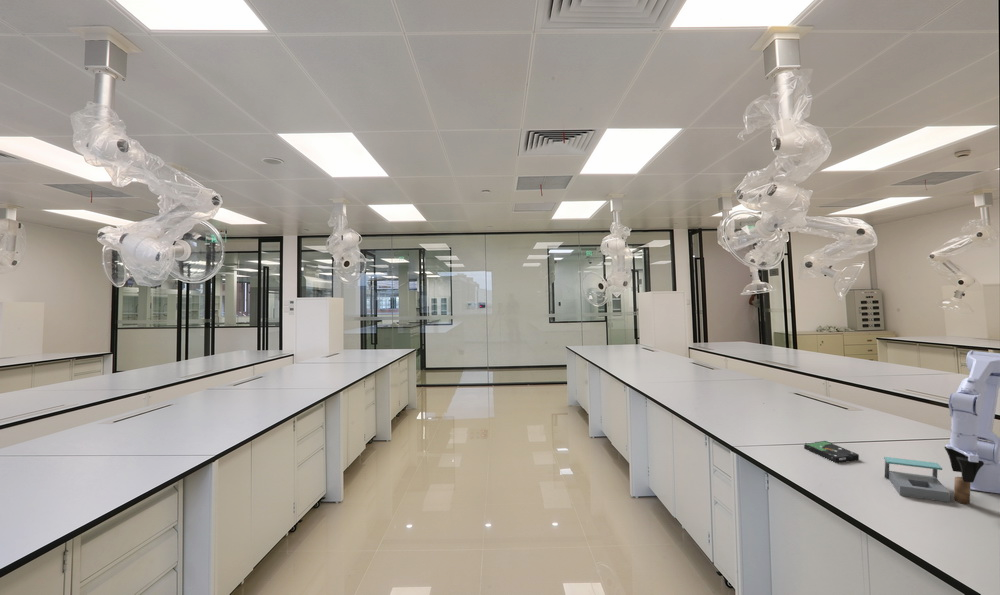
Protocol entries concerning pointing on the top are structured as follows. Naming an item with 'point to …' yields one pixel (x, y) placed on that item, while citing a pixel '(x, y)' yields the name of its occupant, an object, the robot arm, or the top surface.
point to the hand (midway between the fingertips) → (962, 476)
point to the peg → (961, 491)
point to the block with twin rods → (911, 463)
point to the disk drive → (831, 451)
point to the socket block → (919, 486)
